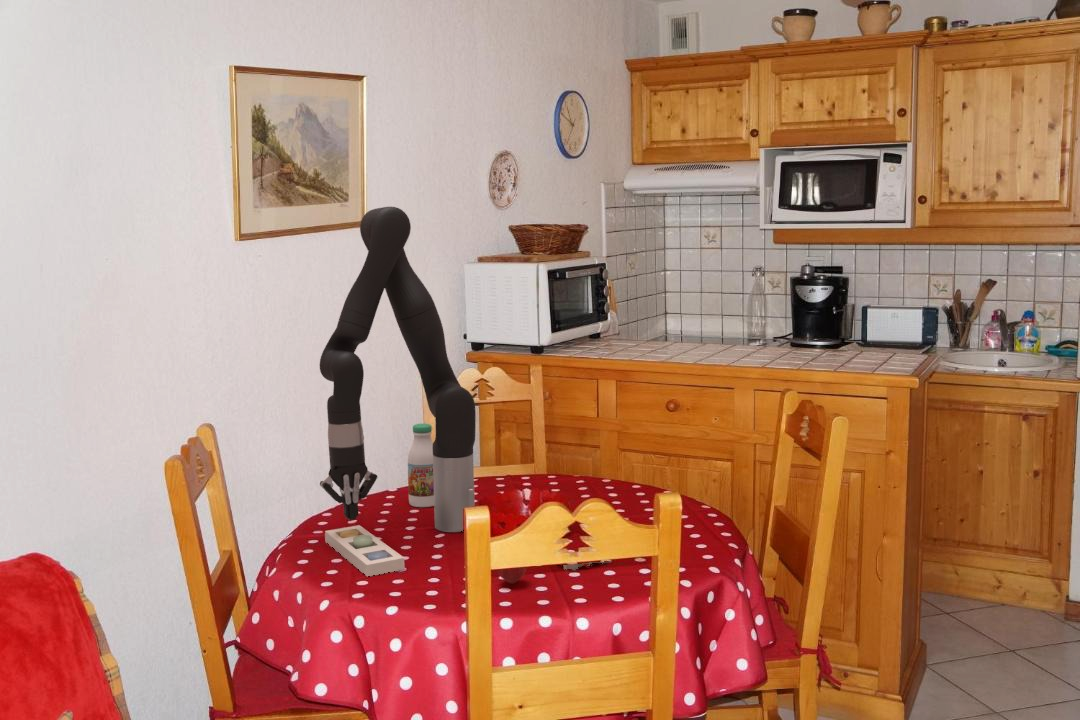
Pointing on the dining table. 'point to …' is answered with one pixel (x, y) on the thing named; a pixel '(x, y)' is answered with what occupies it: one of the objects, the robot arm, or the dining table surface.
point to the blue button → (377, 555)
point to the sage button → (362, 541)
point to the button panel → (365, 552)
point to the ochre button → (349, 533)
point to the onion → (512, 574)
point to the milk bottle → (421, 467)
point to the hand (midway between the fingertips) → (351, 519)
